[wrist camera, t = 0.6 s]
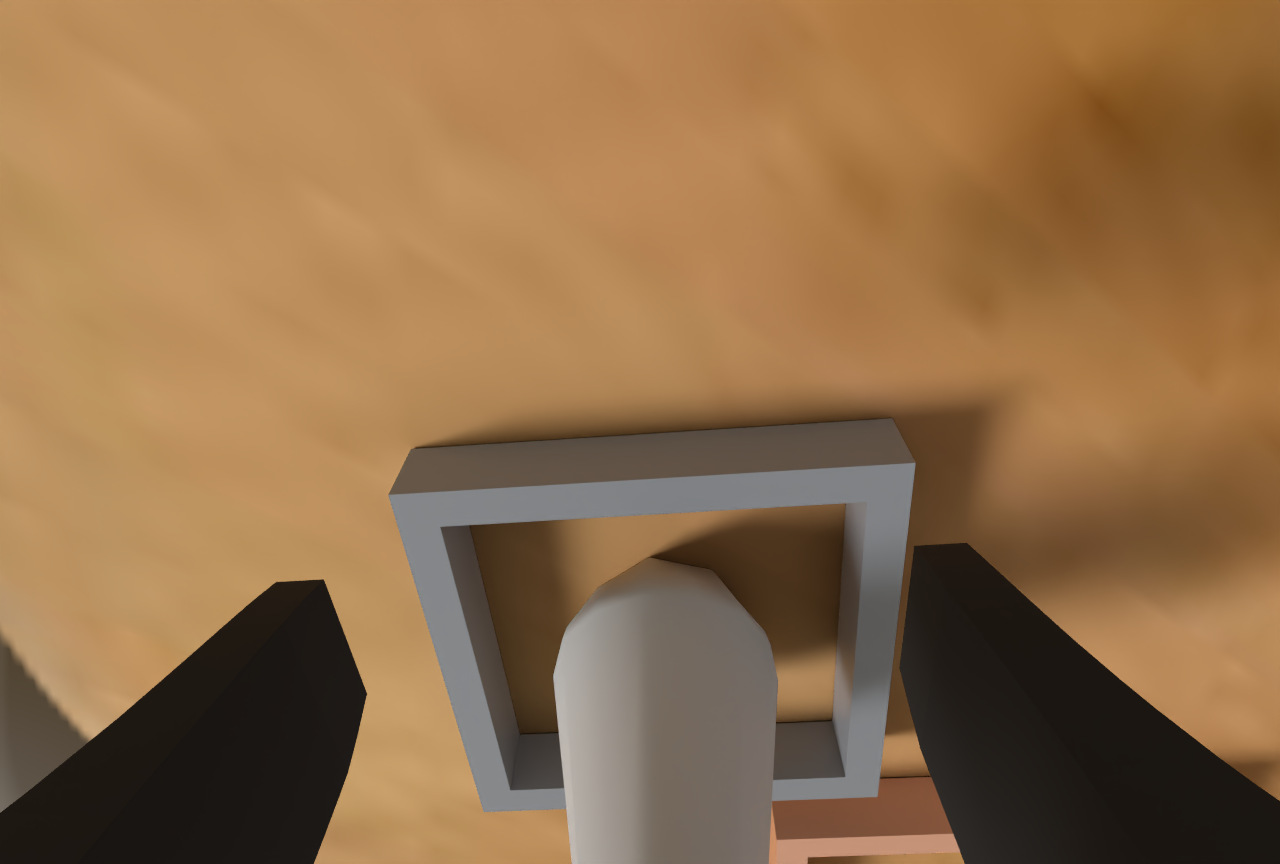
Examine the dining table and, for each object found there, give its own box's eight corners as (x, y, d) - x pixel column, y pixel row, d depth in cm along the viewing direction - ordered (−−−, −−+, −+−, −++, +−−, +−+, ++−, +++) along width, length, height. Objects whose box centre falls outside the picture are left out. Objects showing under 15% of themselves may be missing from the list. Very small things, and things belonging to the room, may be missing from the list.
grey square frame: (892, 418, 19) (915, 462, 18) (862, 740, 25) (877, 797, 24) (410, 449, 20) (388, 495, 18) (494, 756, 26) (483, 811, 24)
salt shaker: (586, 512, 21) (511, 1144, 10) (792, 554, 22) (942, 1192, 10) (548, 663, 24) (454, 1282, 13) (729, 696, 24) (794, 1314, 13)
